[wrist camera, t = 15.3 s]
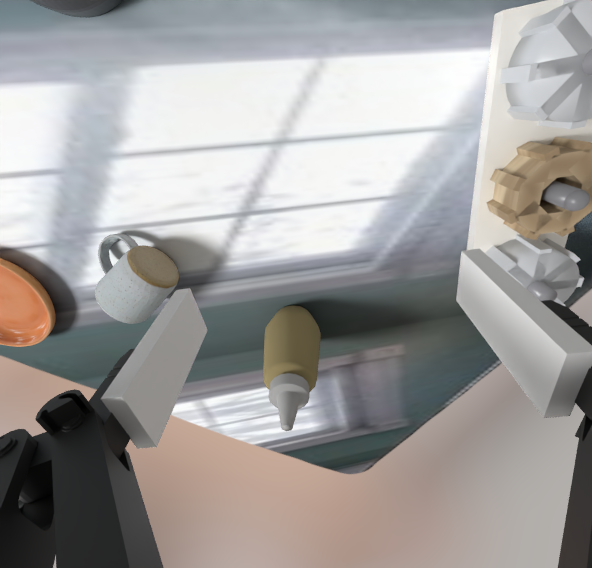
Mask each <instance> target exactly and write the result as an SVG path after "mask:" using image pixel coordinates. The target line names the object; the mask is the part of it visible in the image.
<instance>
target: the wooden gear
mask: <svg viewBox="0 0 592 568" xmlns="http://www.w3.org/2000/svg"><path fill="white" fill-rule="evenodd" d="M516 149H517V153H518V155H517V156H516V157H515V158H514V159H513V160H512V161H511V162H510V163H509V164H508V165H507V166H506V167H505V168H503V169H502V170H498V169H495V171H494V173H493V175H492V176H491V178H490V180H491V181H493V182H495V188H494V195H493V199H492V200H490V201H488V202H486V203H487V206H488V209H489V211H490V212H492V213H493V214H495V215H496V216H498V217H500V218H501V219H503V220H505V221H504V223H503V224H505V225H507V226H508V227H510V228H511V229H513V230H514V231H516V232H518V233H519V234H521V235H522V236H524V237H526V238H529V239H533V240H537V238H538V237H539V235H540V234H545V233H552V232H554V233H556V234H558V235H560V236H562V237H563V236H565V235H567V234H569V233H571V232H574V231H575V230H574V225H575V224H576V223H577V222H579V221H580V220H581V219H582V218H584V217H585V216H586V215H587V214H589V213H590V212H591V211H592V143H591V142H586V141H579V140H572V139H565V138H559V137H555V138H554V139H553V141H552V143H551V144H549V145H544V144H539V143H534V142H527V143H525V144H523V145H521V146H519V147H517V148H516ZM554 180H555V181H558V182H561V183H564V184H567V185H570V186H573V187H576V188H579V189H582V190H585V191H587V192H588V193H589V195H590V202H589V204H588V205H587V206H586V207H585V208H583V209H581V210H578V211H569V210H566V209H564V208H561V207H559V206H556V205H554V204H552V203H549V202H547V201H545V200H542V199H541V196H542V191H543V190H544V189H545V188H546V187H547V186H548V185H550V184H551V183H552V182H553V181H554Z"/></svg>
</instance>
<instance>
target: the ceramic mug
mask: <svg viewBox="0 0 592 568" xmlns="http://www.w3.org/2000/svg"><path fill="white" fill-rule="evenodd" d="M119 239H121V240H123V241H124V242H125V243H126V244H127V246H128V247H129V248H130V250H129V251H128V252H126V253H125V254H124V255H123V256H122V257H121V258H120V259H119V260H118V262H117V263H116V264H115V265H114V266H112V264H111V261H110V257H109V249H110V247H111V246H112V245H113V244H114V243H115V242H116V241H118V240H119ZM98 256H99V261H100V264H101V267H102V269H103V271H104V273H105V274H106V275H105V276H104V277H103V278H102V279H101V280H100V281H99V283H98V284H97V286H96V289H95V297H96V300H97V302H98V304H99V305H100V307H101V308H102V309H103V311H104V312H106V313H107V314H108V315H109V316H111V317H112V318H114V319H116V320H119V321H121V322H125V323H140V322H143V321H145V320H146V319H148V318H149V317H150V316H151V314H152V313H153V312H154V311H155V310H156V309H157V308H158V307H159V306H160V304H161V303H162V302H163V301H164V300H165V299H166V298H167V296H168V295H169V294H170V293H171V292H172V291H173V290H174V288H175V286H176V285H177V283H178V280H179V272H178V269H177V267H176V265H175V264H174V262H173V261H172V260H171V259H170V258H169V257H168V256H167V255H166V254H164V253H163V252H161V251H160V250H158V249H156V248H153V247H149V246H138V244H137V243H136V242H135V240H133V239H132V238H131V237H129V236H127V235H124V234H114V235H109V236H107V237H106V238H105V239H104V240H103V241H102V242H101V244H100V246H99V250H98Z"/></svg>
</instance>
